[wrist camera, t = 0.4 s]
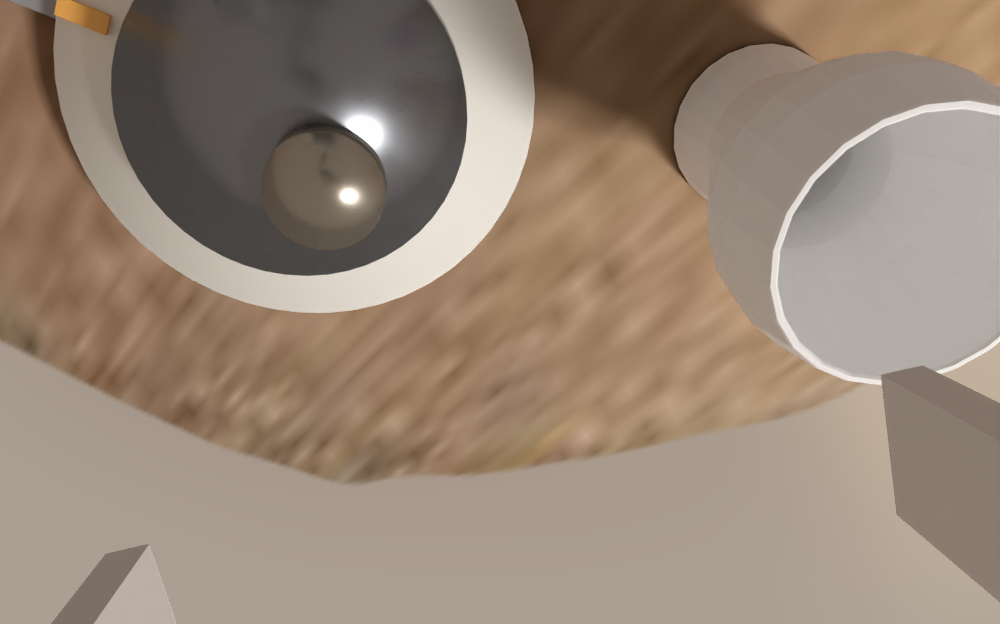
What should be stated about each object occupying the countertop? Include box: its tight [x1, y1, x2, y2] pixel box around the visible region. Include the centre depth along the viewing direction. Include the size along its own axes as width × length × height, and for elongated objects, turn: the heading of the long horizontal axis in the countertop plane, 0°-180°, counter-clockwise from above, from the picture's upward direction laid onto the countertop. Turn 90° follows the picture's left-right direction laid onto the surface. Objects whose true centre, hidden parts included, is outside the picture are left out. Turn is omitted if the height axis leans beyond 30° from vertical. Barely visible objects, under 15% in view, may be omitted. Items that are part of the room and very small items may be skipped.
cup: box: [674, 44, 1000, 385], centre depth 32 cm, size 11×11×15 cm
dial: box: [111, 0, 467, 276], centre depth 29 cm, size 22×14×9 cm, turn 21°
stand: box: [10, 0, 535, 313], centre depth 33 cm, size 20×27×6 cm
